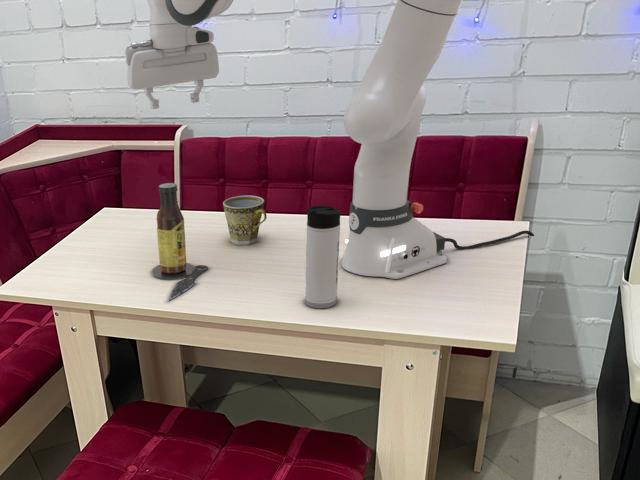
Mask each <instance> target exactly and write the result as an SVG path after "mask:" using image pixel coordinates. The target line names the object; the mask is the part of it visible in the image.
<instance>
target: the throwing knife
mask: <svg viewBox="0 0 640 480" xmlns="http://www.w3.org/2000/svg"><path fill="white" fill-rule="evenodd" d="M194 268H195V270H194V272H193V271H192V273H191V274H190V275H189V276H188V277H185V278H182V279H180V280H179V281H177V282H176V284H175V285H174V287H173V288H172V290H171V293H170V295H169V298H168V301H172V300H173V299H175V298H177V297H178V296H181V295H182V294H184V293H185V292H187V291H188V290H189V289H191V288H193V286H195V285H196V282H195V281H196V280H197V279H198V277H200V276H201V275H203V274H204V273H206V272H208V271H209V266H207V265H205V264H204V265H203V264H201V265H200V264H199V265H195V266H194V267H193V269H194Z"/></svg>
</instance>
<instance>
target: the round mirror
mask: <svg viewBox="0 0 640 480" xmlns="http://www.w3.org/2000/svg"><path fill="white" fill-rule="evenodd" d="M193 267H195V266H194V265H193V264H191V263H189V262H186V269H185V270H184V271H182V272H179V273H176V274H167V273H164V272H162V271H161V268H160V264H159V265H156V266H155V267H154V268H153V269H152V270H151V274H152V276H153V277H154V278H156V279H159V280H164V281H165V280H166V281H175V280H183V279H185V278H187V277H188V276H189V275H190V274H191V273H192V271H193V272H194V270H195V268H194V269H193Z"/></svg>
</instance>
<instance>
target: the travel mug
mask: <svg viewBox="0 0 640 480" xmlns="http://www.w3.org/2000/svg"><path fill="white" fill-rule="evenodd" d="M305 211H306V213H305V214H307V216H306V217H307V220H306V242H305V244H306V245H305V247H306V248H305V249H306V250H305V281H304V282H305V287H304V294H305V295H304V303H305V304H306V305H307V307H310V308H314V309H328V308H331V307H334V306H335V305H336V304H337V300H338V296H337V295H338V279H339V277H338V276H339V262H340V261H339V259H340V258H339V257H340V237H341V210H340V209H336V208H334V207H333V206H327V205H315V206H313V205H312V206H308V207H307V209H306V210H305Z"/></svg>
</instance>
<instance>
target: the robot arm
mask: <svg viewBox="0 0 640 480" xmlns="http://www.w3.org/2000/svg"><path fill="white" fill-rule="evenodd" d="M463 1H464V0H396V3H395V6H394V9H393V11H392V13H391V16H390V19H389V22H388V25H387V26H386V29H385V32H384V35H383V37H382V40H381V41H380V44H379V45H378V48H377V50H376V52H375V53H374V55H373V58H371V61H370V63H369V64H368V67H367V69H366V70H365V72H364V75H363V77H362V78H361V80H360V83H359V85H358V87H357V89H356V91H355V93H354V95H353V97H352V98H351V100H350V102H349V103H348V105H347V107H346V109H345V111H344V114H343V125H344V126H343V127H344V129H345V132H346V133H347V135H348V136H349V138H350V139H352V141H354V142H356V143H358V144H361V145H360V149H359V153H358V156H357V159H356V161H355V163H354V168H353V182H352V183H353V185H352V200H351V201H350V204H349V215H348V217H349V218H348V226H349V232H348V238H347V239H345V241H344V243H345V244H346V248H345V251H344V254H343V257H342V260H341V263H340V265H341V268H343V269H344V270H346V271H347V272H349V273H352V274H355V275H359V276H366V277H377V278H386V279H387V278H388V279H392V280H399V279H403V278H406V277H409V276H411V275H414V274H418V273H420V272H423V271H424V272H425V271H426V270H429V269H432V268H435V267H438V266H441V265H444V264H446V263H448V261H447V260H448V259H447V256H446V254H445V253H444V252H443V250H445V245H446V243H447V242H449V243H451V244H453V247H454V248H455V249H457V250H471V249H472V250H473V249H476V248H480V247H484V246H489V245H494V244H498V243H501V242H505V241H509V240H510V241H511V240H512V239H515V238H518V237H520V236H523V235H528V236H529V237H535V234H534V233H533V232H532V231H531V230H521V231H518V232H515V233H514V234H511V235H508V236H504V237H500V238H496V239H492V240H488V241H482V242H479V243H475V244H470V245H466V246H465V245H464V246H463V245H459V244H458V242H457V240H456V239H454V238H450V237H444V236H443V235H441V234H439V233H437V232H434V231H432V229H430V227H429V228H428V227H427V226H426V225H425V224H424V223H422V222H421V221H419V220H418V219H417V218H415V217H414V215H413V212H414V213H416V214H417V215H418V214H421V213H422V212H423V211H424V205H423V204H422V203H419V202H416V201H415V202H413V203H412V201H410V200H408V190H409V181H410V180H409V179H410V171H411V166H412V165H411V163H412V159H413V154H414V151H415V147H416V142H417V138H418V134H419V129H420V124H421V120H422V115H423V112H424V111H423V110H424V108H425V105H426V101H427V90H426V87H425V84H424V83H425V82H426V80H427V78H428V76H429V74H430V73H431V71H432V68H433V67H434V65H435V64H436V63H437V61H438V60H439V58H440V55H441V53H442V50H443V48H444V46H445V44H446V41H447V39H448V38H449V35H450V33H451V30H452V28H453V25H454V23H455V21H456V19H457V16H458V14H459V11H460V9H461V6H462V4H463ZM233 2H234V0H147V5H148V7H149V16H150V17H149V20H148V24H149V26H148V27H149V39H147V40H142V41H134V42H131V43H130V44H129V45H127V46H126V48H125V51H124V56H125V57H124V58H125V63H126V64H127V67H126V68H127V70H126V71H127V73H126V77H127V79H126V80H127V86H128V87H130V88H131V90H135V91H136V90H143V91H144V94H145V96H146V97H147V98H148V100H149V105H150V109H152V110H155V109H157V110H158V109H159V108H160V105H159V104H160V101H159V99H158V98H154V96H153V94H152V93H154V88H158V87H163V86H171V85H177V84H183V83H190V82H193V83H194V85H195V88H194V91H193V92H191V93H189V97H190V103H192V104H195V103H199V102H200V93H202V89H203V87H204V86H205V85H204V80H210V79H215V78H217V76H218V75H219V73H220V65H219V64H220V63H219V55H218V50H217V47H216V46H215V44H214V43H212V42H214V39H215V35H214V32H213V31H212V30H208V29H203V28H200V27H198V26H196V25H199V24H200V23H202V22H203V21H206V20H208V19H212V18H214V17H217V16H220V15H221V14H223V13H224V12H225V11H227V10H228V9H229V8H230V7H231V5H232V4H233ZM512 369H513V370H512V376H511V378H512V379H516V377H517V372H518V371H517V370H518V366H515V367H513V368H512Z"/></svg>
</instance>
